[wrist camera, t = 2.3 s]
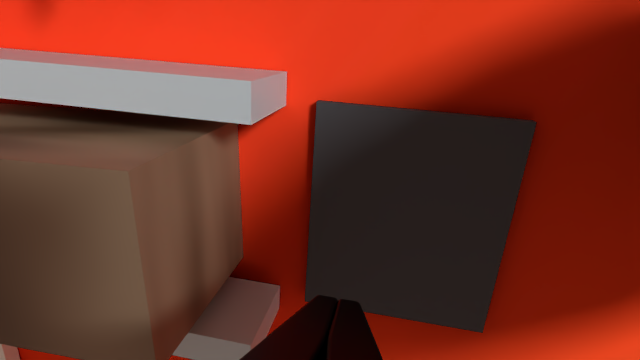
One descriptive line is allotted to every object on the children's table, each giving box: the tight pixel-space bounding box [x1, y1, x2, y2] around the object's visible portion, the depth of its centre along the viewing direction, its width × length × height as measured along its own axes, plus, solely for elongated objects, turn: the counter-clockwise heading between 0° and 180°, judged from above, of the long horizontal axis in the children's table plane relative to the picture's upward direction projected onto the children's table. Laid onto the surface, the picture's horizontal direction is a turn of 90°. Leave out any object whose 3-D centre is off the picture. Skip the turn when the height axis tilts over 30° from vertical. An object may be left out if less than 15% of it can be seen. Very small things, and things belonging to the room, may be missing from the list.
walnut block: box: [0, 103, 243, 360], centre depth 12 cm, size 9×5×6 cm, turn 88°
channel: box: [0, 48, 287, 360], centre depth 13 cm, size 12×8×3 cm
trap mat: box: [305, 100, 537, 333], centre depth 12 cm, size 6×7×1 cm
